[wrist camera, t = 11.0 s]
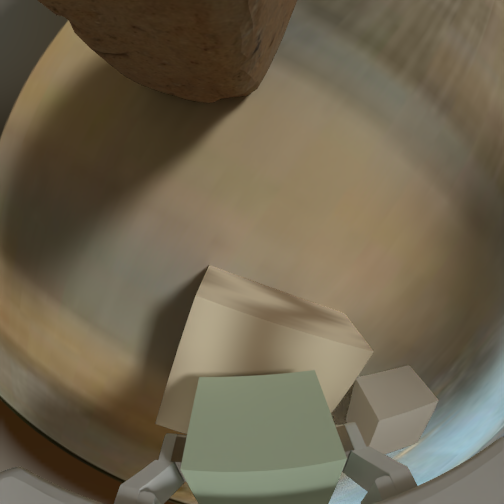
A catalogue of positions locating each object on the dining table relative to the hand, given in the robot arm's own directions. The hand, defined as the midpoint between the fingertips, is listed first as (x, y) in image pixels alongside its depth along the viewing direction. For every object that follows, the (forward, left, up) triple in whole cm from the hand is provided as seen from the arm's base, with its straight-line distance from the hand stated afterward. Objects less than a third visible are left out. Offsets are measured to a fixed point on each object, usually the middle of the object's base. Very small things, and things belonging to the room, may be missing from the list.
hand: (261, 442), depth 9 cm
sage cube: (0, 0, -2) cm, 2 cm away
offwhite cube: (-10, +6, -8) cm, 14 cm away
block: (+1, -20, -8) cm, 22 cm away
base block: (0, 0, -8) cm, 8 cm away
